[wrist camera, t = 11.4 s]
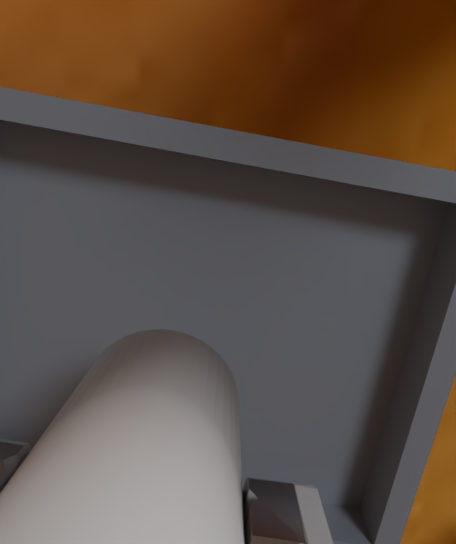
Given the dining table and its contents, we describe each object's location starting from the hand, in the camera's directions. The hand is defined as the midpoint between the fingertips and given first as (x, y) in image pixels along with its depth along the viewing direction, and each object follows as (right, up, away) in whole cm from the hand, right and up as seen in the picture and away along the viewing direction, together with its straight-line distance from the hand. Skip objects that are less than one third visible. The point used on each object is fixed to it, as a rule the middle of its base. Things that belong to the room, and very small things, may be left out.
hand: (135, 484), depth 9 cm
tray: (0, +2, +9) cm, 10 cm away
